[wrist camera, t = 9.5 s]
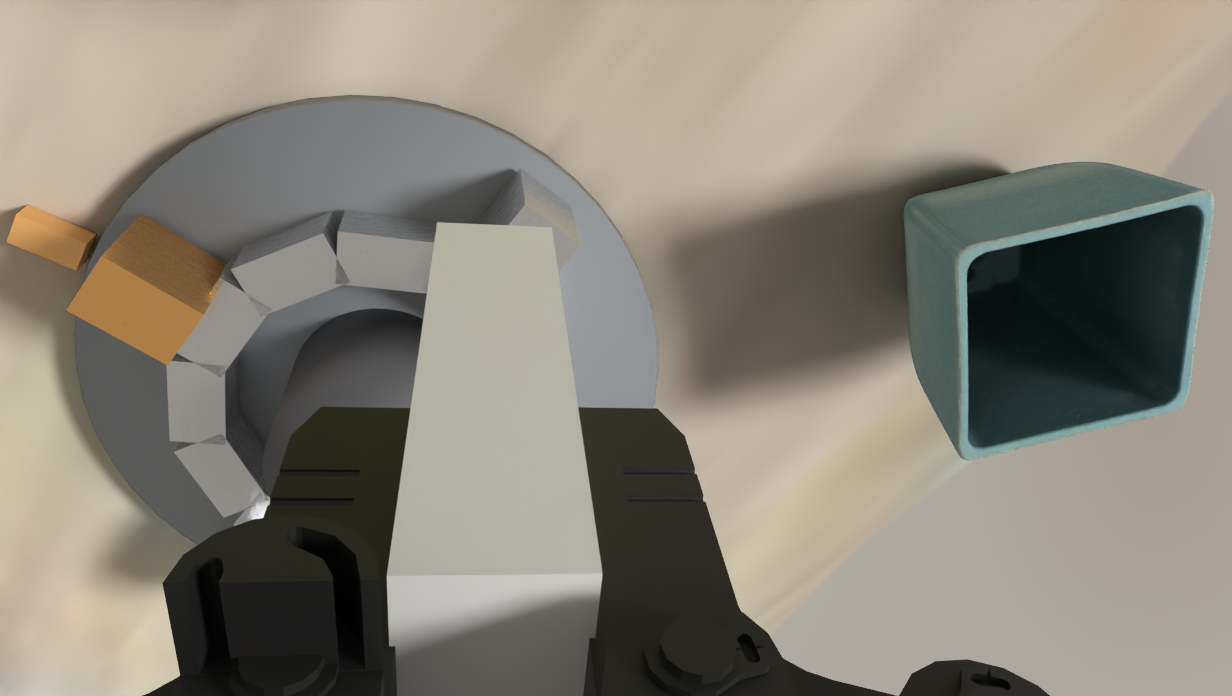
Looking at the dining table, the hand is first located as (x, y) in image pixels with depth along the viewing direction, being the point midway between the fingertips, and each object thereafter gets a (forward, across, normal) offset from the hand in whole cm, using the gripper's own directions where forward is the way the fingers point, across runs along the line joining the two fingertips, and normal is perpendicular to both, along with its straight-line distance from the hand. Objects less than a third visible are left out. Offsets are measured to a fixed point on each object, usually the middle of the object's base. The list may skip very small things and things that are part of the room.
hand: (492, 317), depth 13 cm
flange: (+23, -4, -14) cm, 27 cm away
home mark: (+23, -16, -9) cm, 29 cm away
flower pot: (+24, +20, -8) cm, 32 cm away
